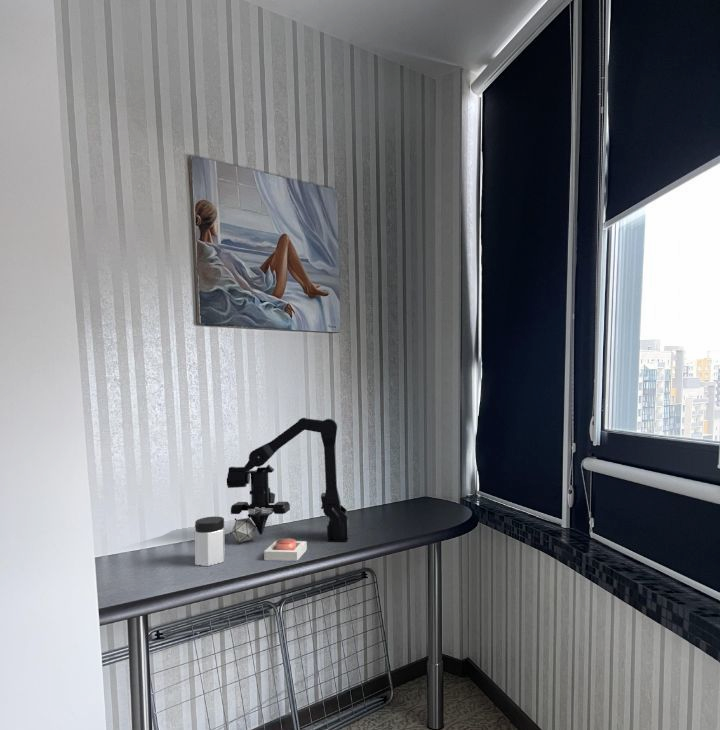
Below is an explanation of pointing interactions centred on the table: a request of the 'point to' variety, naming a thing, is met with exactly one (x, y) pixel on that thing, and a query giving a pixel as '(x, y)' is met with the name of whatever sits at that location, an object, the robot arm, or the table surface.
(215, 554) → the jar
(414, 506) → the table surface
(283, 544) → the popper button
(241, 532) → the grey icosahedron ornament
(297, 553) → the base
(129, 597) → the table surface
